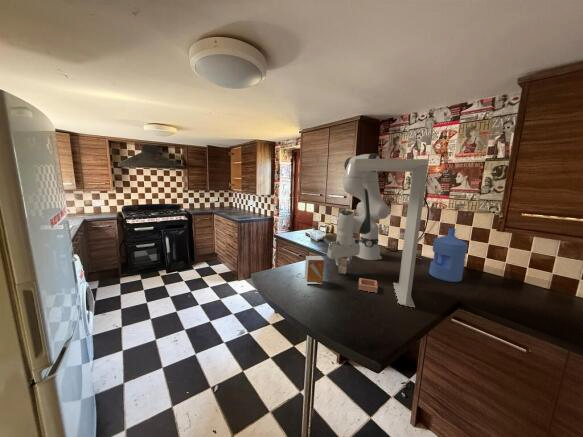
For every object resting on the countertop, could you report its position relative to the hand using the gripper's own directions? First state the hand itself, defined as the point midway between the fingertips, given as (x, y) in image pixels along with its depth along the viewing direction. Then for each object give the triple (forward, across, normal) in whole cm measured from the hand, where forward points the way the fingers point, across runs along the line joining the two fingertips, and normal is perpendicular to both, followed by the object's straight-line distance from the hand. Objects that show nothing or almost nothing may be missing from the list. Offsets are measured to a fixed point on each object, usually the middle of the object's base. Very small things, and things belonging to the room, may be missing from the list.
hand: (342, 264), depth 127 cm
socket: (+5, -1, -20) cm, 20 cm away
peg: (+5, 0, 0) cm, 5 cm away
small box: (+5, -22, -4) cm, 23 cm away
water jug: (+6, +53, -26) cm, 59 cm away
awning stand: (+5, +2, -23) cm, 24 cm away
